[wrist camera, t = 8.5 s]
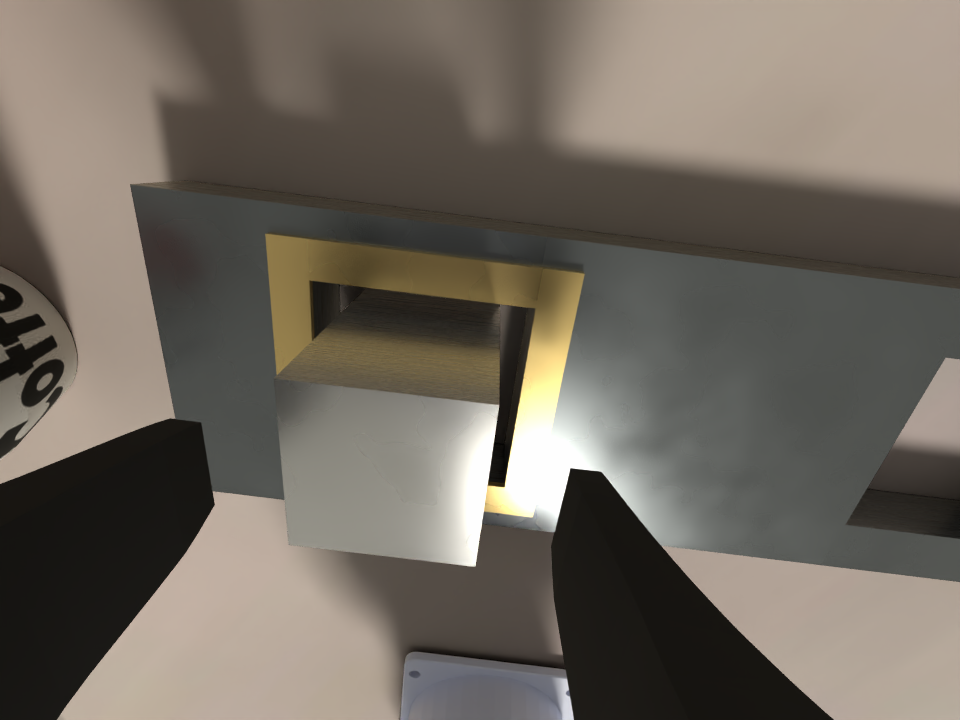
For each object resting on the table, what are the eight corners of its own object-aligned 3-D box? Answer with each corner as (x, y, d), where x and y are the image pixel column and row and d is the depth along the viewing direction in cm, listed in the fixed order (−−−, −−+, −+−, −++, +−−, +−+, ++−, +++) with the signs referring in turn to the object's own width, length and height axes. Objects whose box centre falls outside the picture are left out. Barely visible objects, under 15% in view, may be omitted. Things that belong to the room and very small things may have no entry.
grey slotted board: (1054, 551, 16) (1132, 607, 14) (224, 450, 16) (184, 492, 14) (1261, 316, 12) (1406, 346, 10) (185, 180, 12) (123, 185, 10)
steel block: (484, 418, 15) (475, 566, 10) (366, 403, 15) (288, 544, 10) (500, 303, 13) (499, 405, 8) (366, 287, 13) (273, 378, 8)
